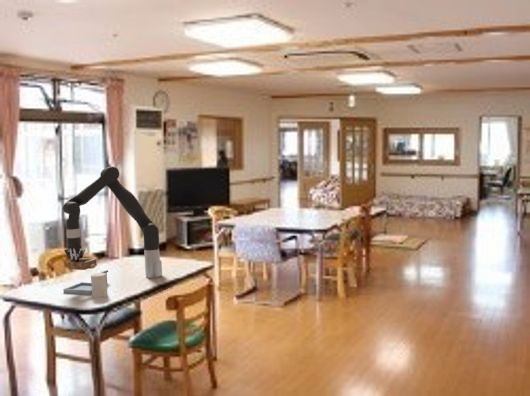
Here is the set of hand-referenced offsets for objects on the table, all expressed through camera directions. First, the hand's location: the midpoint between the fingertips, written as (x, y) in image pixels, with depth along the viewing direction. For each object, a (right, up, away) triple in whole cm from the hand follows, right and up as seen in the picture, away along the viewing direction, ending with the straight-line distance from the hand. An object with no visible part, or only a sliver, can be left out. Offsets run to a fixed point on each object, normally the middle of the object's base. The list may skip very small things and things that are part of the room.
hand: (75, 265), depth 340 cm
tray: (+6, -14, -1) cm, 15 cm away
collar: (+4, -1, -2) cm, 5 cm away
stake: (+14, -12, +13) cm, 23 cm away
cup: (+18, -15, -14) cm, 27 cm away
